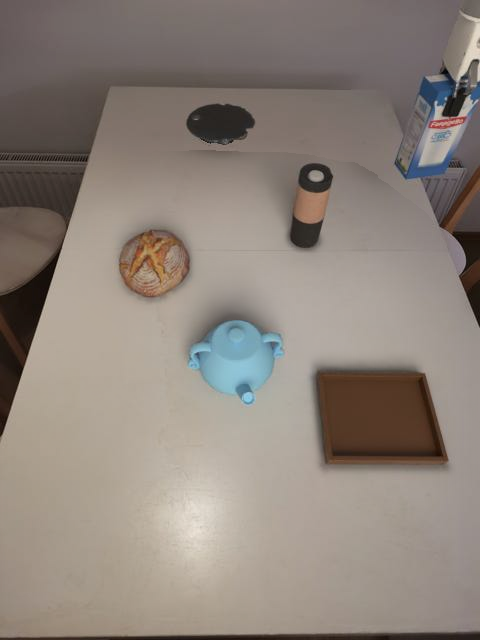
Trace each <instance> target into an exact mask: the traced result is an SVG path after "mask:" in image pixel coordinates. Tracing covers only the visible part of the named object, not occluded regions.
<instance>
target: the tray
mask: <svg viewBox="0 0 480 640" xmlns="http://www.w3.org/2000/svg"><path fill="white" fill-rule="evenodd" d="M316 385H317V395H318V405H319V414H320V422H321V432H322V441H323V450H324V458H325V465H332V466H333V465H337V466H338V465H339V466H341V465H344V466H345V465H346V466H347V465H349V466H351V465H352V466H353V465H355V466H356V465H358V466H359V465H363V466H365V465H366V466H368V465H369V466H377V465H378V466H445V464H447V463H449V457H448V453H447V449H446V445H445V442H444V438H443V435H442V431H441V427H440V423H439V419H438V417H437V412H436V408H435V404H434V401H433V398H432V397H433V396H432V394H431V390H430V386H429V383H428V378H427V375H426V373H425V372H336V371H335V372H334V371H333V372H331V371H329V372H328V371H327V372H325V371H324V372H323V371H318V373H317V376H316Z"/></svg>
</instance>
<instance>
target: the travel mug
mask: <svg viewBox="0 0 480 640" xmlns="http://www.w3.org/2000/svg"><path fill="white" fill-rule="evenodd" d="M333 179H334V174H333V173H332V171H331V168H330V167H329V166H328V165H327V164H323V163H319V162H310V163H307V164H304V165H303V166H302V167H300V170H299V173H298V179H297V186H296V192H295V196H294V197H295V198H294V204H293V209H292V210H293V211H292V219H291V226H290V227H291V228H290V241H291V243H292V244H293V245H295V246H296V247H298V248H301V249H310V248H313V247H314V246H316V244H317V243H318V241H319V238H320V234H321V231H322V226H323V223H324V219H325V216H326V212H327V207H328V203H329V198H330V193H331V189H332V184H333Z"/></svg>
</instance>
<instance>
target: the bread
mask: <svg viewBox="0 0 480 640" xmlns="http://www.w3.org/2000/svg"><path fill="white" fill-rule="evenodd" d="M118 267H119V273H120V276H121V278H122V280H123V282H124V284H125V286H126V287H127V288H128V289H130V291H132V292H134V293H136V294H138V295H141V296H142V297H144V298H157V297H160V296H162V295H166V294H167V293H169V292H170V291H172V290H173V289H175V287H177V286H179V284H181V283H182V282H183V281H184V279H186V277H187V275H188V273H189V272H190V257H189V253H188V250H187V248H186V247H185V245H184V244H183V241H182V240H181V239H180V237H178V236H177V235H176V234H174V233H172V232H171V231H169V230H165V229H149V231H148V232H147V231H144V232H142V233H139V234H137V235H135V236H134V237H132V238H131V239H129V240H128V241H127V242H126V243H124V245H123V246H122V248H121V250H120V253H119V258H118Z"/></svg>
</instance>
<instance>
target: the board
mask: <svg viewBox="0 0 480 640" xmlns="http://www.w3.org/2000/svg"><path fill="white" fill-rule="evenodd" d="M195 119H198V120H195ZM185 125H186V126H185V127H186V129H187V130H188V132H189V133H190V134H191V135H192V136H194V137H196V138H197V137H198V138H200V139H201V140H203V141H205V142H207V143H210V144H211V143H218V144H222V145H227V144H229V143H232V142H233V141H234V140H241V141H244V140H245V139H246V138H247V137H248V134H249V133H248V132H249V131H248V130H250V129H254V128H255V126H256V120H255V118H254V117H253V115H252V114H251V112H250V111H248V110H247V109H246V108H245V107H242V106H240V105H235V104H231V103H225V104H222V103H218V102H217V103H209V104H204V105H201V106H198V107H197V108H196V109H194V110H192V111H191V113H189V114H188V116H187V119H186V123H185ZM198 138H197V139H198ZM200 139H199V140H200ZM201 140H200V141H201Z"/></svg>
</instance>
